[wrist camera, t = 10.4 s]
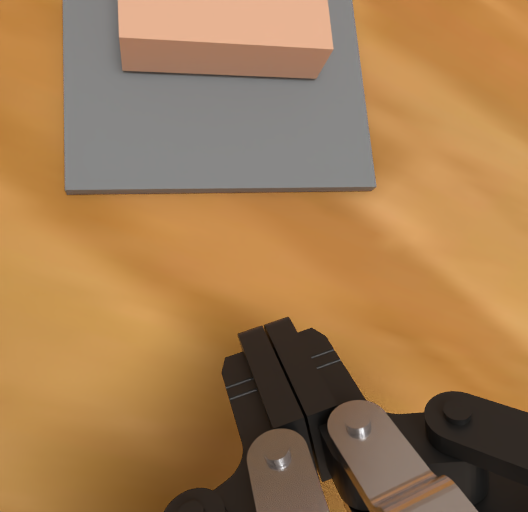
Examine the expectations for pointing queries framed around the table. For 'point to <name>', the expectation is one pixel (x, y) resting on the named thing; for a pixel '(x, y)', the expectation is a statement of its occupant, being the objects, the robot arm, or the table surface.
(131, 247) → the table surface
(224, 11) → the tile
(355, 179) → the mat
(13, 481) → the table surface
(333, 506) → the table surface
